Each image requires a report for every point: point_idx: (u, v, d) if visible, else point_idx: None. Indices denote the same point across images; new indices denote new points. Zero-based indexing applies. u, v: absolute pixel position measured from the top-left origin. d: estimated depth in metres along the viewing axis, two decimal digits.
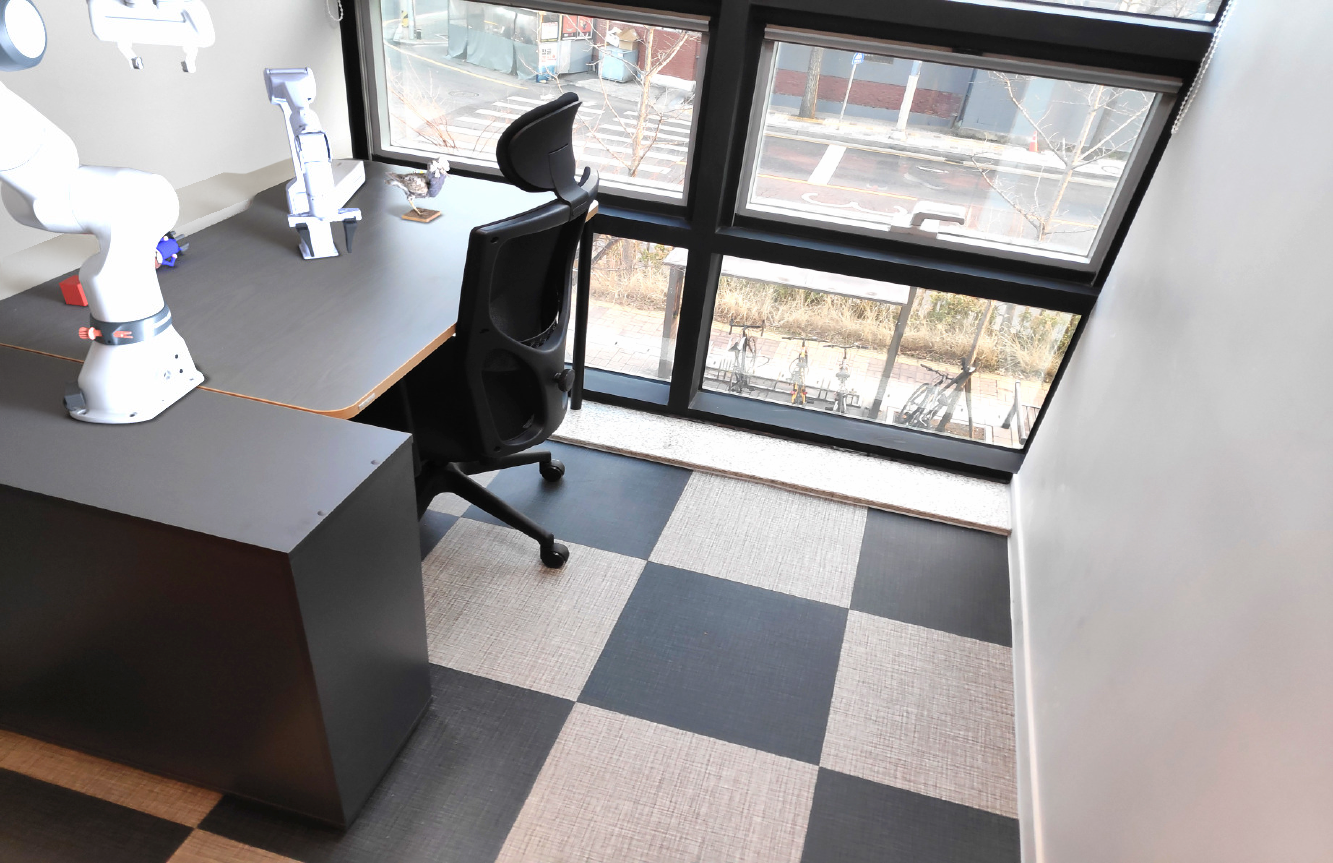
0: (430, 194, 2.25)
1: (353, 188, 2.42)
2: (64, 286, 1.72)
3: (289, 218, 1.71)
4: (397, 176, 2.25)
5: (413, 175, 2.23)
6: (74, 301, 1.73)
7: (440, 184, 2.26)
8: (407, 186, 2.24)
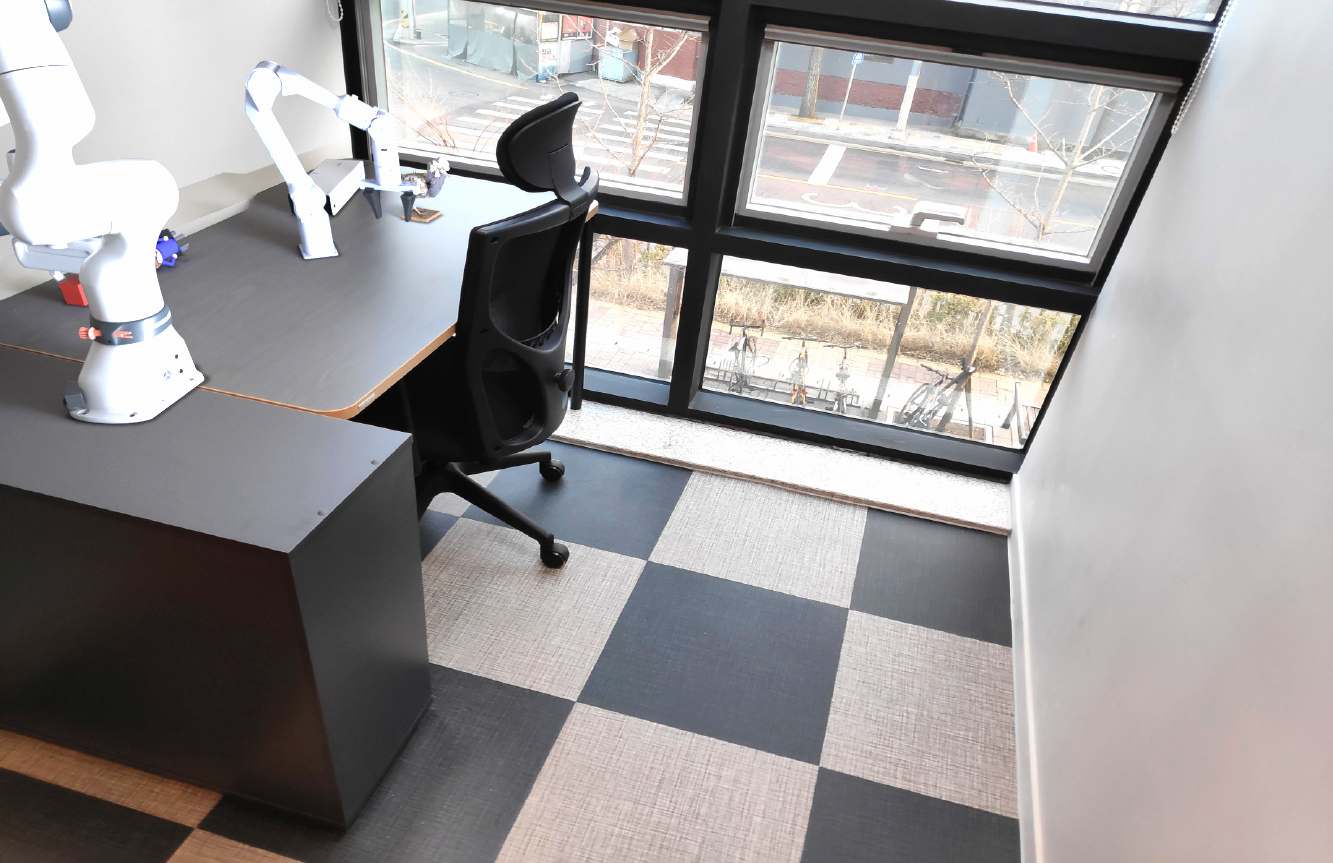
0: (430, 194, 2.25)
1: (353, 188, 2.42)
2: (64, 286, 1.72)
3: None
4: None
5: (413, 175, 2.23)
6: (74, 301, 1.73)
7: (440, 184, 2.26)
8: None
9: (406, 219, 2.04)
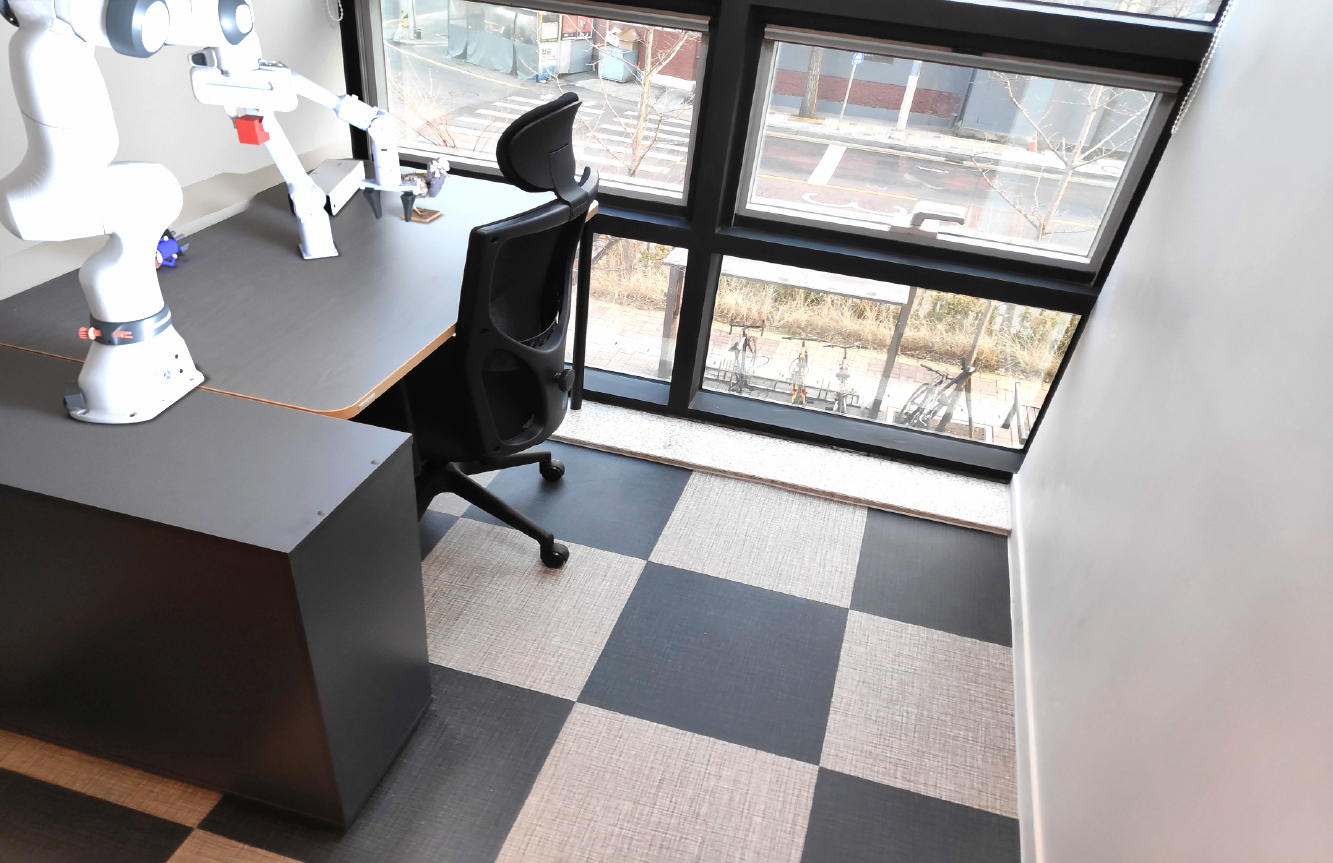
0: (430, 194, 2.25)
1: (353, 188, 2.42)
2: (240, 122, 1.66)
3: None
4: None
5: (413, 175, 2.23)
6: (248, 140, 1.68)
7: (440, 184, 2.26)
8: None
9: (406, 219, 2.04)
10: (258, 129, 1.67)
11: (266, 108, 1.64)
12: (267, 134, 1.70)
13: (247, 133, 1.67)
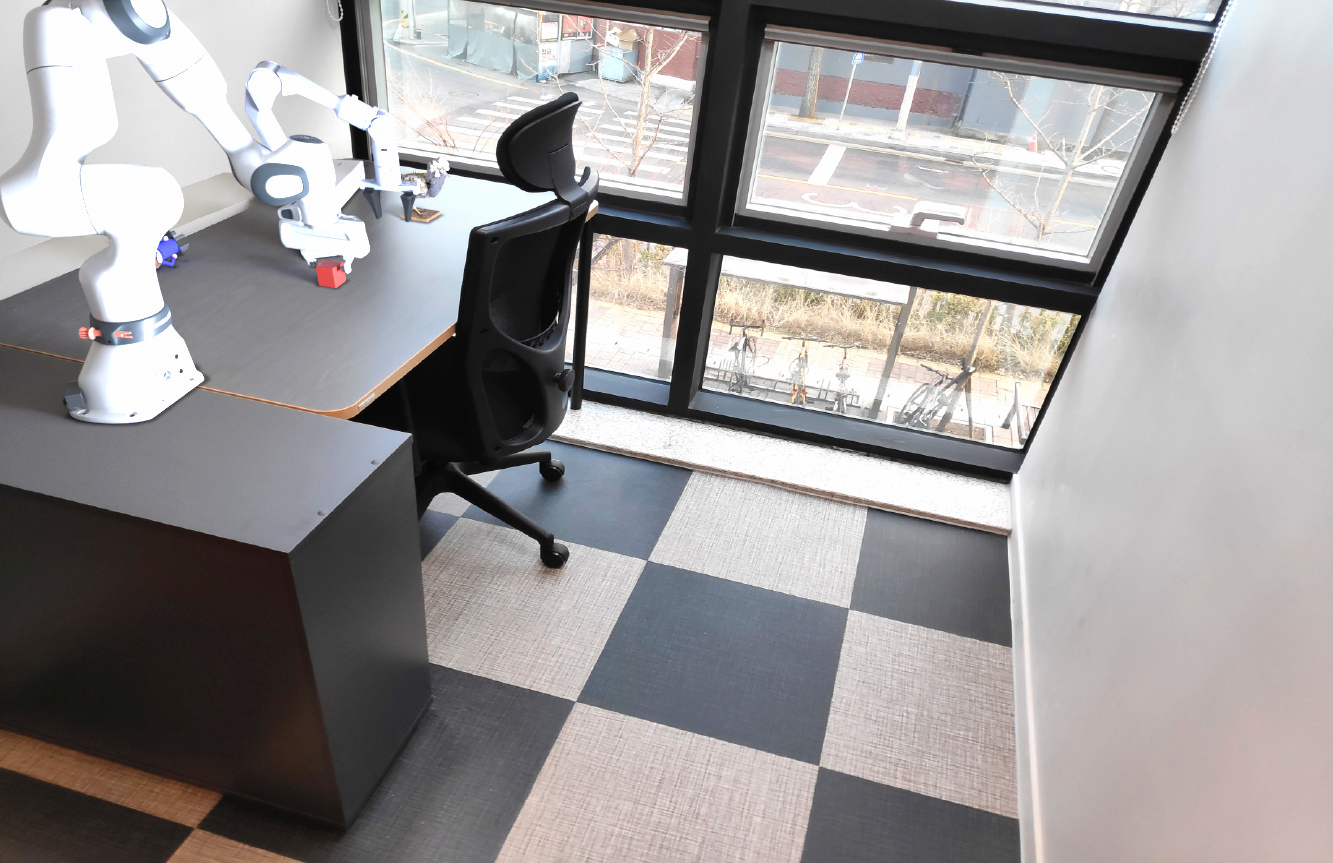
0: (430, 194, 2.25)
1: (353, 188, 2.42)
2: (320, 269, 1.87)
3: None
4: None
5: (413, 175, 2.23)
6: (326, 283, 1.89)
7: (440, 184, 2.26)
8: None
9: (406, 219, 2.04)
10: (335, 275, 1.88)
11: (342, 255, 1.84)
12: (343, 277, 1.91)
13: (326, 278, 1.88)
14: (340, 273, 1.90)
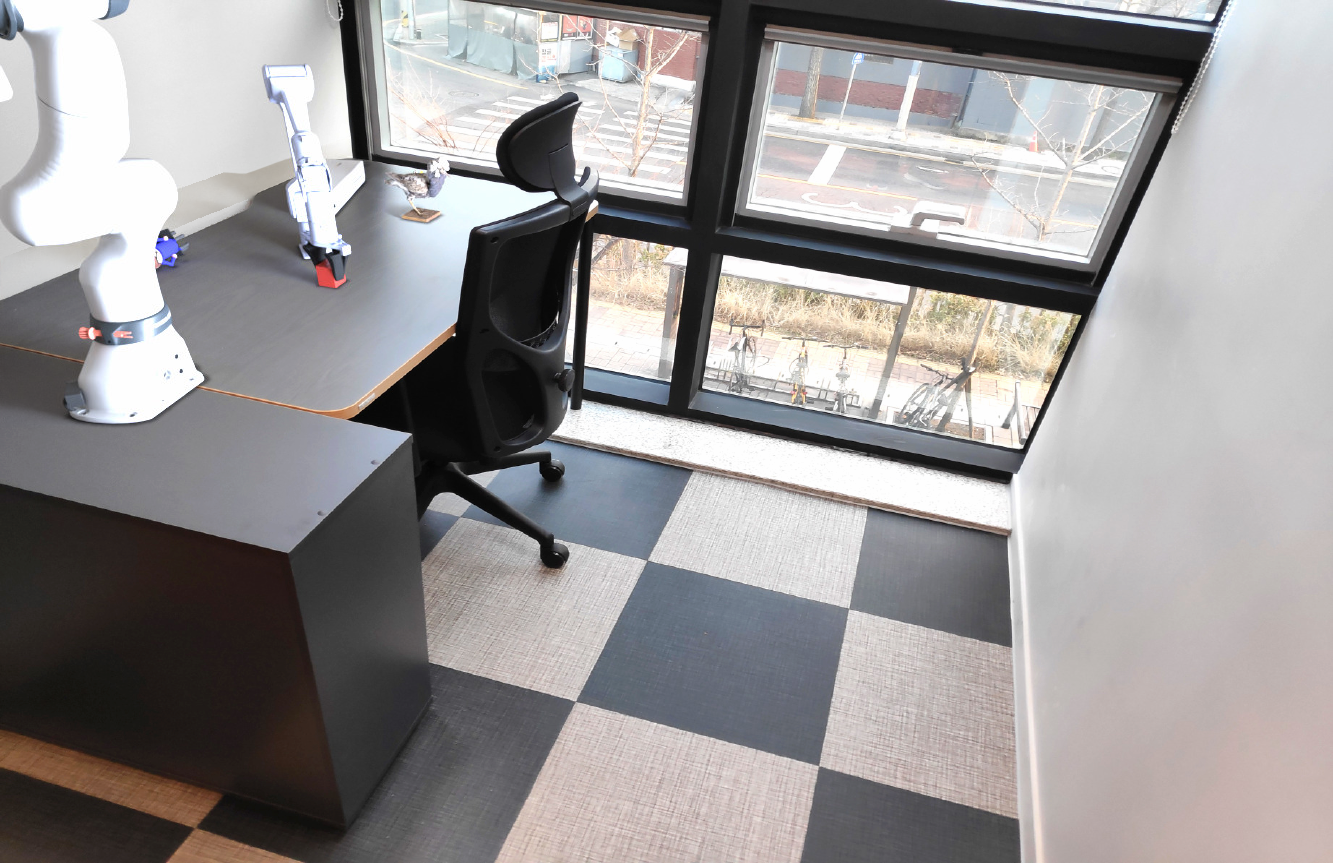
0: (430, 194, 2.25)
1: (353, 188, 2.42)
2: (320, 269, 1.87)
3: None
4: (397, 176, 2.25)
5: (413, 175, 2.23)
6: (326, 283, 1.89)
7: (440, 184, 2.26)
8: (407, 186, 2.24)
9: (335, 278, 1.87)
10: None
11: None
12: None
13: (326, 278, 1.88)
14: None
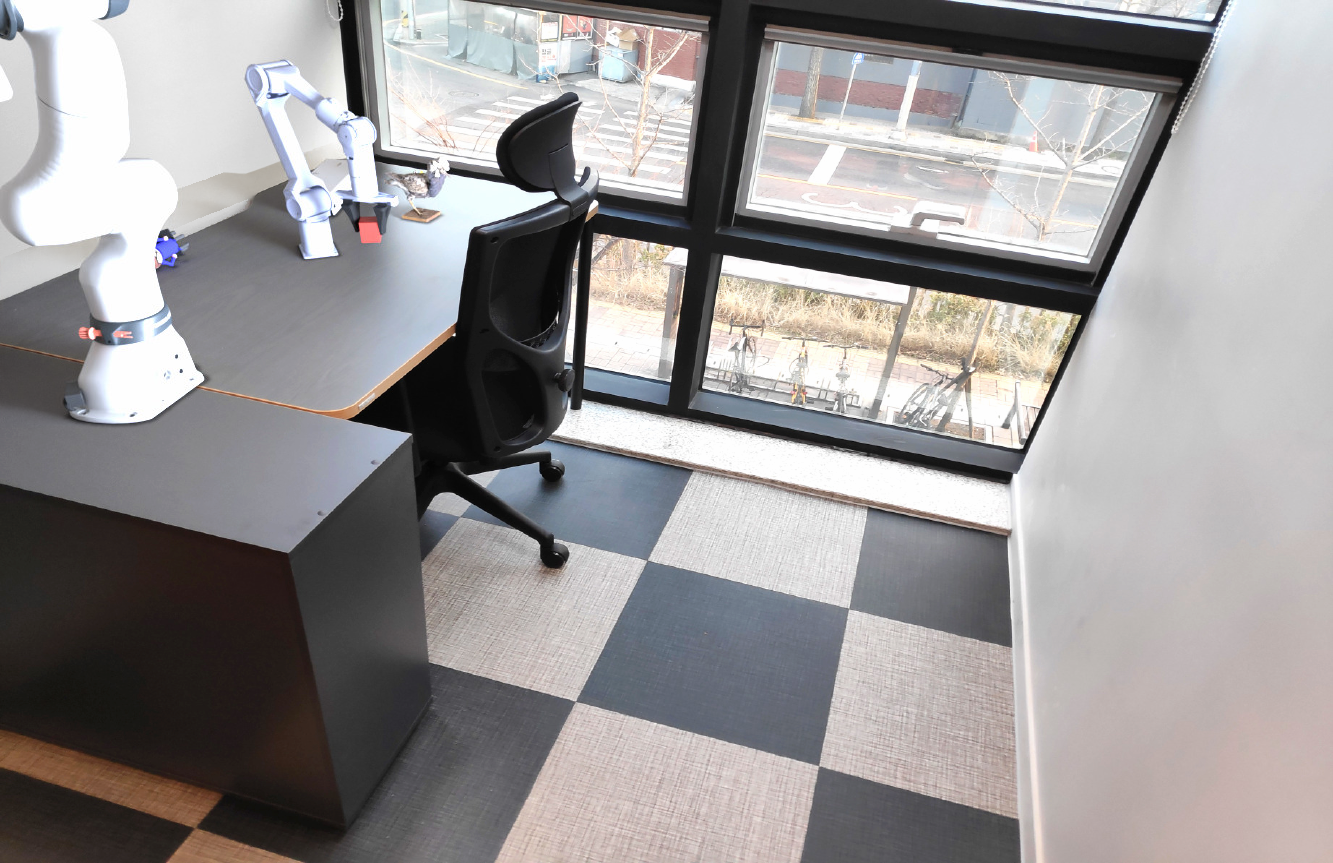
0: (430, 194, 2.25)
1: None
2: (363, 225, 1.90)
3: None
4: (397, 176, 2.25)
5: (413, 175, 2.23)
6: (370, 239, 1.92)
7: (440, 184, 2.26)
8: (407, 186, 2.24)
9: (380, 232, 1.92)
10: None
11: None
12: None
13: (370, 233, 1.92)
14: None
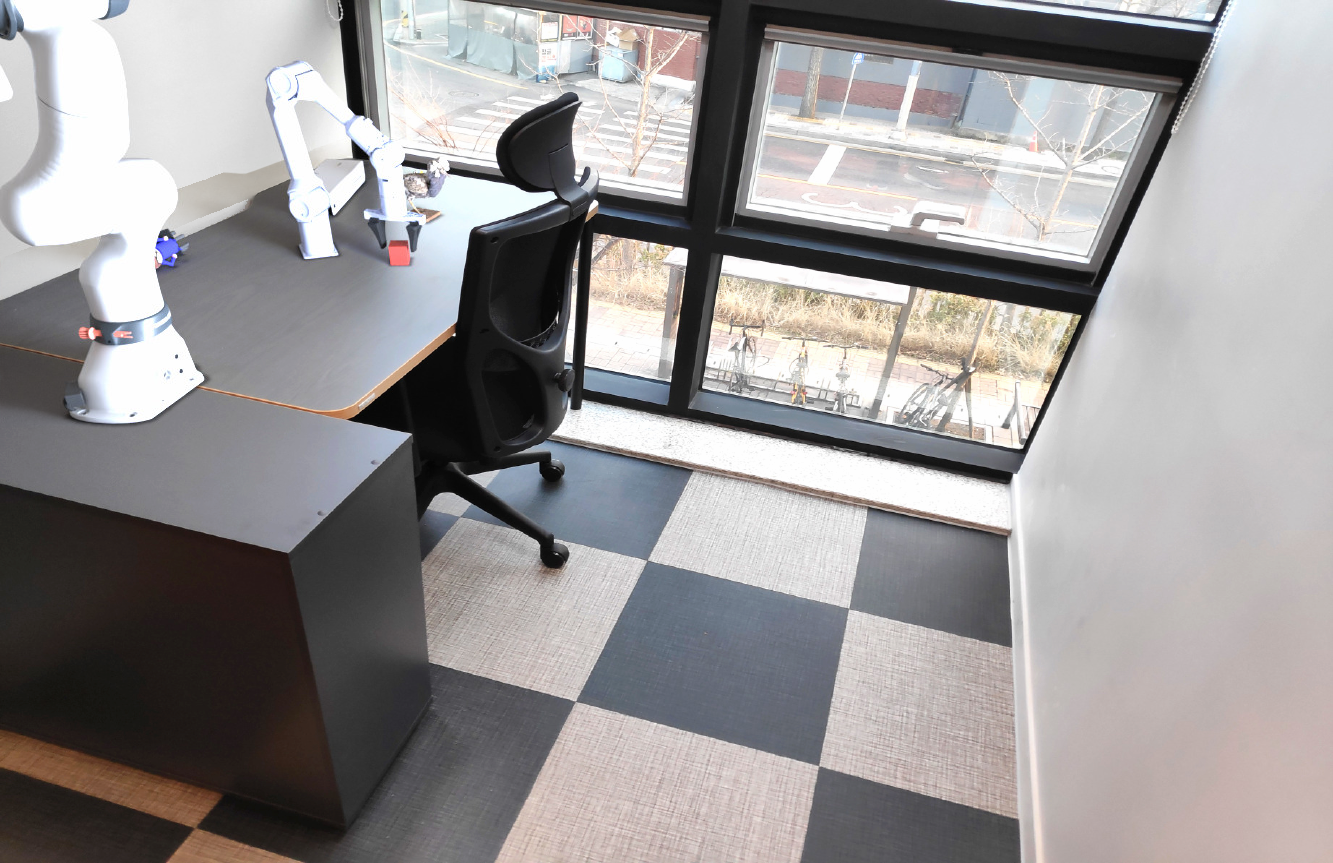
0: (430, 194, 2.25)
1: (353, 188, 2.42)
2: (393, 249, 1.99)
3: None
4: None
5: (413, 175, 2.23)
6: (399, 262, 2.01)
7: (440, 184, 2.26)
8: (407, 186, 2.24)
9: (411, 249, 2.00)
10: (407, 252, 2.01)
11: None
12: (409, 254, 2.05)
13: (398, 257, 2.01)
14: (408, 251, 2.03)
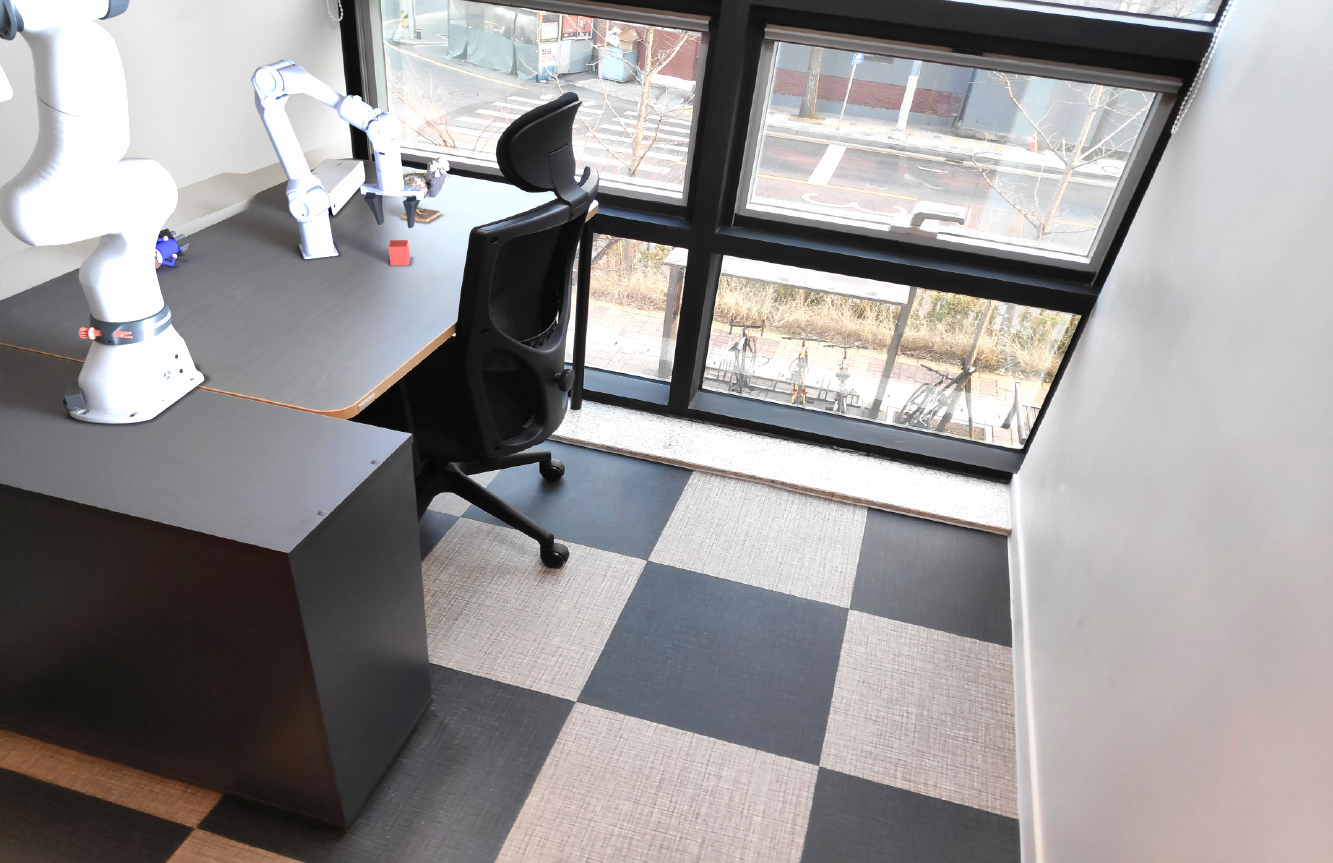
0: (430, 194, 2.25)
1: (353, 188, 2.42)
2: (393, 249, 1.99)
3: None
4: None
5: (413, 175, 2.23)
6: (399, 262, 2.01)
7: (440, 184, 2.26)
8: None
9: (409, 225, 1.97)
10: (407, 252, 2.01)
11: None
12: (409, 254, 2.05)
13: (398, 257, 2.01)
14: (408, 251, 2.03)
